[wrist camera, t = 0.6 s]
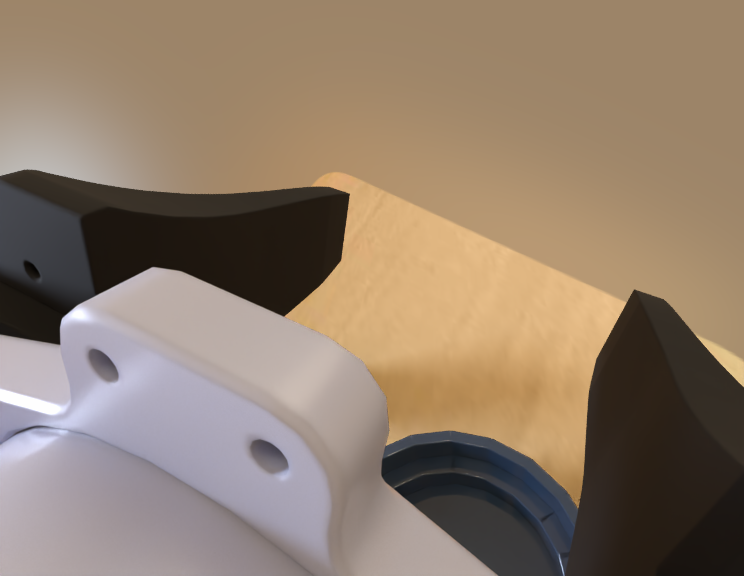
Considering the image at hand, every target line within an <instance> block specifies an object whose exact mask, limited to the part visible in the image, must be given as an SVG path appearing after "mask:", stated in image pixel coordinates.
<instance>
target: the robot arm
mask: <svg viewBox="0 0 744 576" xmlns="http://www.w3.org/2000/svg"><path fill="white" fill-rule="evenodd" d="M349 196H350V194H349V193H346V192H343V191H340V190H337V189H334V188H331V187H303V188H293V189H282V190H273V191H263V192H248V193H234V194H180V193H167V192H154V191H143V190H135V189H128V188H120V187H114V186H108V185H102V184H96V183H91V182H86V181H81V180H77V179H72V178H68V177H63V176H59V175H54V174H50V173H45V172H42V171H37V170H22V171H18V172H14V173H10V174H6V175H2V176H0V576H498V575H497V574H496V573H494V572H493V571H492V570H491V569H489V568H488V567H487V566H486V565H485V564H483V563H482V562H481V561H480V560H479V559H477V558H476V557H475V556H474V555H473V554H471V553H470V552H469V551H468V550H467V549H465V548H464V547H463V546H462V545H460V544H459V543H458V542H457V541H456V540H454V539H453V538H452V537H451V536H450V535H448V534H447V533H446V532H445V531H444V530H442V529H441V528H440V527H439V526H438V525H436V524H435V523H434V522H433V521H432V520H430V519H429V518H428V517H427V516H425V515H424V514H423V513H422V512H421V511H419V510H418V509H417V508H416V507H415V506H413V505H412V504H411V503H410V502H409V501H407V500H406V499H405V498H404V497H403V496H401V495H400V494H399V493H398V492H397V491H395V490H394V489H393V488H392V487H390V486H389V485H388V484H387V483H386V482H385V481H384V480H383V478H382V476H381V467H382V458H383V454H384V450H385V446H386V442H387V438H388V434H389V422H388V411H387V401H386V396H385V395H384V393H383V392H382V390H381V389H380V387H379V385H378V384H377V382H376V381H375V379H374V378H373V376H372V375H371V373H370V372H369V370H368V369H367V367H366V366H365V364H364V363H363V361H362V360H361V359H359V358H358V357H356V356H355V355H353V354H352V353H351V352H349V351H348V350H346V349H345V348H344V347H342V346H341V345H339V344H338V343H336V342H335V341H334V340H332V339H331V338H329V337H328V336H326V335H324V334H321V333H319V332H317V331H315V330H312V329H310V328H308V327H306V326H303V325H301V324H299V323H297V322H294V321H292V320H290V319H288V318H285V317H284V316H285V315H287V314H288V313H289V312H290V311H291V310H292V309H294V308H295V307H296V306H297V305H298V304H299V303H301V302H302V301H303V300H304V299H305V298H306V297H307V296H309V295H310V294H311V293H312V292H313V291H314V290H315V289H316V288H318V287H319V286H320V285H321V284H322V283H323V282H324V281H325V279H326V278H327V277H328V276H329V275H330V274H331V272H332V271H333V270H334V269H335V267H336V266H337V265H338V264H339V262H340V261H341V257H342V249H343V242H344V234H345V226H346V219H347V211H348V203H349ZM565 576H744V387H743V386H742V385H741V384H740V383H739V382H738V381H737V380H736V379H735V378H734V377H733V376H732V375H731V374H730V373H729V372H728V371H727V370H726V369H725V368H724V367H723V366H722V365H721V364H720V363H719V362H718V361H717V360H716V358H715V357H714V356H713V355H712V354H711V353H710V352H709V351H708V350H707V348H706V347H705V346H704V345H703V344H702V343H701V341H700V340H699V339H698V338H697V337H696V336H695V334H694V333H693V332H692V331H691V330H690V328H689V327H688V326H687V325H686V324H685V322H684V321H683V320H682V319H681V317H680V316H679V315H678V314H677V313H676V312H675V310H674V309H673V308H672V307H671V306H670V305H669V304H668V303H667V302H666V301H665V300H664V299H661V298H658V297H655V296H652V295H649V294H646V293H643V292H640V291H637V290H634V291H633V293H632V294H631V296H630V298H629V300H628V302H627V303H626V305H625V307H624V309H623V311H622V313H621V315H620V316H619V318H618V320H617V322H616V324H615V326H614V328H613V329H612V331H611V333H610V335H609V337H608V339H607V340H606V342H605V344H604V346H603V348H602V350H601V352H600V353H599V355H598V357H597V359H596V363H595V368H594V372H593V376H592V380H591V385H590V390H589V397H588V412H587V428H586V445H585V463H584V476H583V485H582V492H581V498H580V503H579V508H578V513H577V519H576V524H575V529H574V534H573V539H572V544H571V548H570V553H569V558H568V563H567V567H566V572H565Z"/></svg>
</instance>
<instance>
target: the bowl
mask: <svg viewBox="0 0 744 576" xmlns="http://www.w3.org/2000/svg"><path fill="white" fill-rule="evenodd" d="M381 476H382V478H383V480H384V481H385V482H386V483H387V484H388V485H389V486H390V487H392V488H393V489H394V490H395V491H397V492H398V493H399V494H400V495H401V496H403V497H404V498H405V499H406V500H407V501H409V502H410V503H411V504H412V505H413V506H415V507H416V508H417V509H418V510H419V511H421V512H422V513H423V514H424V515H425V516H427V517H428V518H429V519H430V520H432V521H433V522H434V523H435V524H436V525H438V526H439V527H440V528H441V529H442V530H444V531H445V532H446V533H447V534H448V535H450V536H451V537H452V538H453V539H454V540H456V541H457V542H458V543H459V544H460V545H462V546H463V547H464V548H465V549H467V550H468V551H469V552H470V553H471V554H473V555H474V556H475V557H476V558H477V559H479V560H480V561H481V562H482V563H483V564H485V565H486V566H487V567H488V568H489V569H491V570H492V571H493V572H494V573H496V574H497V575H498V576H565V572H566V567H567V563H568V558H569V553H570V548H571V544H572V539H573V534H574V529H575V524H576V519H577V513H578V508H577V506H576V505H575V503H574V502H573V500H572V498H571V497H570V495H569V494H568V493H567V491H566V490H565V489H564V488H563V487H562V486H561V485H559V484H558V483H557V482H556V481H555V480H554V479H553V478H552V477H551V476H550V475H549V474H548V473H547V472H545V471H544V470H543V469H542V468H541V467H540V466H539V465H538V464H537V463H536V462H535V461H534V460H533V459H531V458H529V457H527V456H525V455H523V454H521V453H519V452H518V451H516V450H514V449H512V448H510V447H508V446H506V445H504V444H502V443H500V442H498V441H496V440H494V439H491V438H488V437H483V436H477V435H472V434H467V433H461V432H456V431H442V432H433V433H424V434H415V435H412V436H411V435H410V436H408V437H405V438H403V439H401V440H399V441H396V442H394V443H392V444H390V445H387V446H385V450H384V454H383V458H382V467H381Z"/></svg>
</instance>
